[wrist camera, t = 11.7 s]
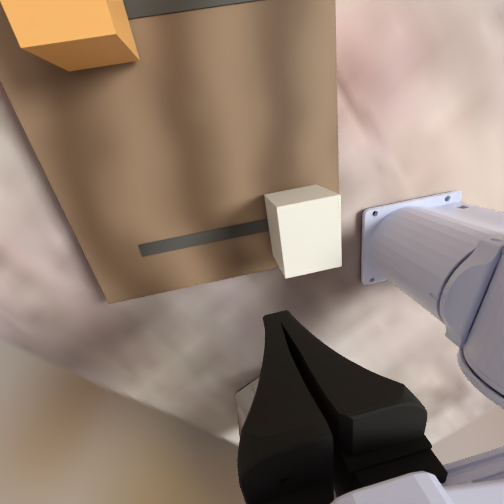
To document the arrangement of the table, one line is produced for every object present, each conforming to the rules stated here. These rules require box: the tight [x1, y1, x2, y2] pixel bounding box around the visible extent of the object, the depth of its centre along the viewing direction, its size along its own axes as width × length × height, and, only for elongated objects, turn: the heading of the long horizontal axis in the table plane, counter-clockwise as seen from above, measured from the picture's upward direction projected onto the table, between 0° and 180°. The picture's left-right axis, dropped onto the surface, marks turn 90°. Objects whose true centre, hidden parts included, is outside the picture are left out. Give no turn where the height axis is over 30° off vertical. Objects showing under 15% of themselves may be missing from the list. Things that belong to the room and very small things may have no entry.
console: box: [0, 0, 339, 304], centre depth 18 cm, size 20×23×2 cm
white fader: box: [264, 185, 342, 279], centre depth 18 cm, size 4×5×4 cm
